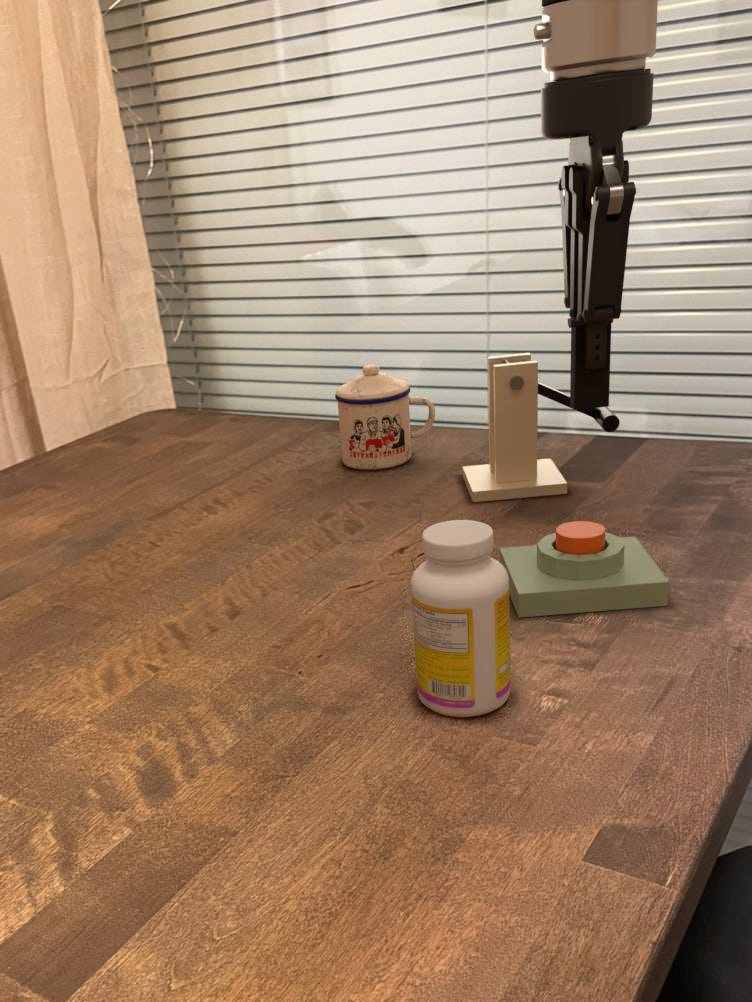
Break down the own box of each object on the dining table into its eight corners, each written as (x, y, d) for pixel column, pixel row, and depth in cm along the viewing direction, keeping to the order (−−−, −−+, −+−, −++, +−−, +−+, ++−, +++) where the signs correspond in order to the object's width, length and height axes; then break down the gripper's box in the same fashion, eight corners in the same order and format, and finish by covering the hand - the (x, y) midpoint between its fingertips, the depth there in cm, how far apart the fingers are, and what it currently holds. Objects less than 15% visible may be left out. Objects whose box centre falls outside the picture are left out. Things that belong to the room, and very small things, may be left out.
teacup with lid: (343, 475, 121) (335, 378, 116) (337, 453, 130) (330, 362, 124) (442, 463, 121) (439, 366, 116) (430, 443, 129) (426, 351, 124)
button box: (634, 558, 91) (636, 517, 89) (667, 606, 82) (671, 560, 80) (499, 570, 92) (499, 529, 90) (518, 618, 83) (518, 573, 81)
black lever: (598, 422, 111) (610, 402, 110) (612, 437, 106) (624, 416, 105) (491, 375, 109) (501, 355, 108) (499, 388, 104) (510, 367, 103)
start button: (598, 538, 87) (599, 519, 86) (610, 555, 83) (611, 536, 82) (551, 542, 87) (551, 523, 86) (560, 559, 84) (561, 540, 83)
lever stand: (550, 468, 115) (552, 346, 109) (567, 493, 107) (570, 363, 101) (462, 476, 116) (459, 355, 110) (472, 502, 108) (469, 373, 102)
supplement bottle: (485, 667, 76) (482, 507, 70) (527, 708, 70) (528, 537, 65) (403, 686, 75) (393, 525, 69) (438, 729, 69) (431, 558, 63)
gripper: (525, 82, 76) (526, 391, 87) (561, 75, 65) (558, 433, 75) (626, 68, 75) (615, 382, 86) (682, 58, 64) (661, 422, 74)
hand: (589, 405), depth 81 cm, fingers closed
